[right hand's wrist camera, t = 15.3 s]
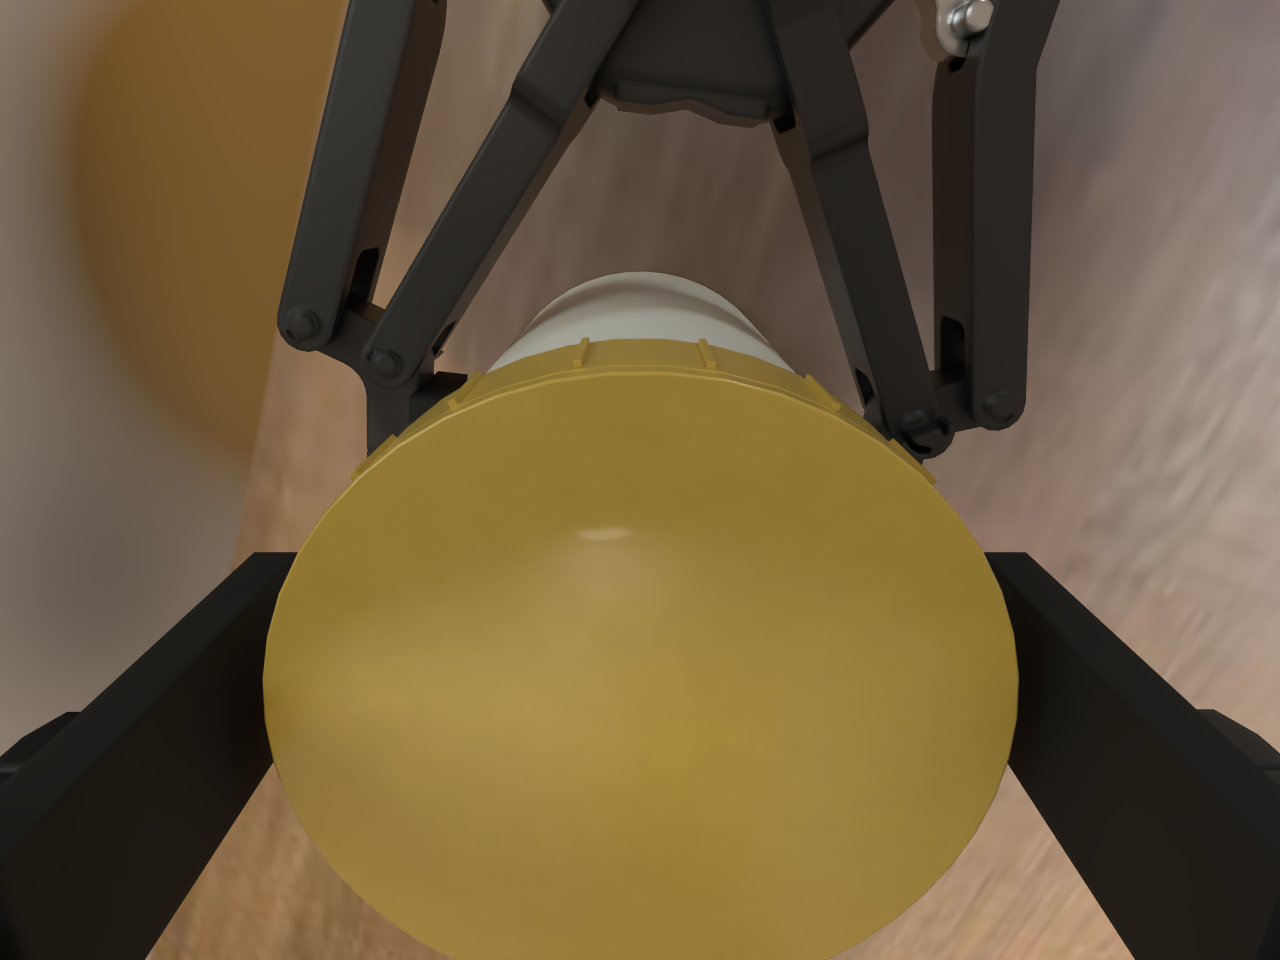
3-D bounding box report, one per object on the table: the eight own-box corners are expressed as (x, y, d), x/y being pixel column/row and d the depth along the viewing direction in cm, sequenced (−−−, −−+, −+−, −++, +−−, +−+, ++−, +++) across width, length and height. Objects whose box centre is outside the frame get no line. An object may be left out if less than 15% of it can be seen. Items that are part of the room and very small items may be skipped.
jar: (777, 257, 24) (997, 354, 9) (785, 533, 27) (957, 929, 13) (477, 286, 24) (223, 425, 10) (521, 555, 28) (384, 968, 13)
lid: (399, 233, 10) (337, 243, 8) (1076, 463, 11) (1174, 523, 9) (277, 805, 14) (211, 915, 12) (807, 938, 15) (835, 1060, 13)
